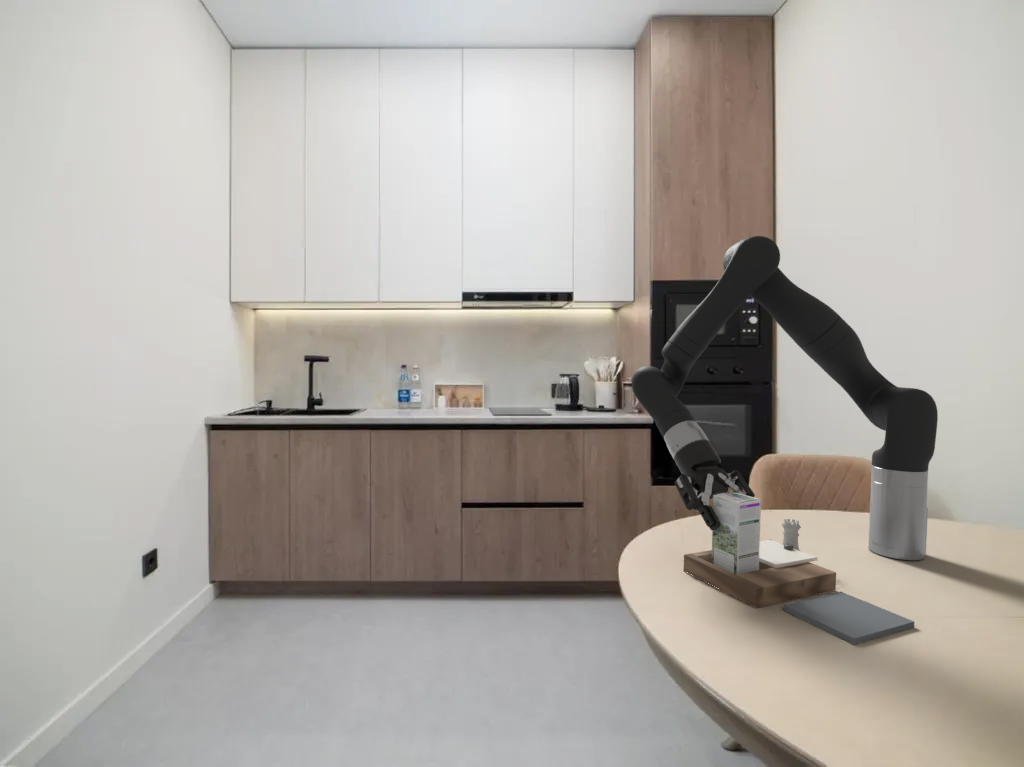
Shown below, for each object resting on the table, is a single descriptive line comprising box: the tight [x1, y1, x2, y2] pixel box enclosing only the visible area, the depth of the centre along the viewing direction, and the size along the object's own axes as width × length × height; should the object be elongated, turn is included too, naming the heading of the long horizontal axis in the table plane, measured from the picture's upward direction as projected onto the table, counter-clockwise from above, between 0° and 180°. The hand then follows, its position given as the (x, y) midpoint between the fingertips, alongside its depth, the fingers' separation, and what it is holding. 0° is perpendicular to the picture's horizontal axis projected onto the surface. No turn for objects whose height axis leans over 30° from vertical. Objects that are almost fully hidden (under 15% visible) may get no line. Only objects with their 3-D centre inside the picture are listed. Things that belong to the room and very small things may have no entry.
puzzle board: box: [683, 549, 837, 609], centre depth 94 cm, size 18×16×3 cm
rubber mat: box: [783, 591, 915, 645], centre depth 80 cm, size 13×11×1 cm
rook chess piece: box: [781, 518, 802, 551], centre depth 103 cm, size 4×4×8 cm
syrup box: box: [711, 491, 762, 574], centre depth 95 cm, size 6×6×14 cm
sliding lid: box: [759, 539, 818, 568], centre depth 98 cm, size 10×10×1 cm
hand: (735, 525), depth 95 cm, fingers open, 8 cm apart
